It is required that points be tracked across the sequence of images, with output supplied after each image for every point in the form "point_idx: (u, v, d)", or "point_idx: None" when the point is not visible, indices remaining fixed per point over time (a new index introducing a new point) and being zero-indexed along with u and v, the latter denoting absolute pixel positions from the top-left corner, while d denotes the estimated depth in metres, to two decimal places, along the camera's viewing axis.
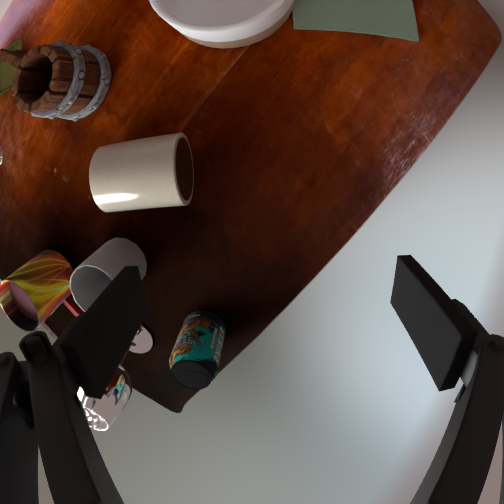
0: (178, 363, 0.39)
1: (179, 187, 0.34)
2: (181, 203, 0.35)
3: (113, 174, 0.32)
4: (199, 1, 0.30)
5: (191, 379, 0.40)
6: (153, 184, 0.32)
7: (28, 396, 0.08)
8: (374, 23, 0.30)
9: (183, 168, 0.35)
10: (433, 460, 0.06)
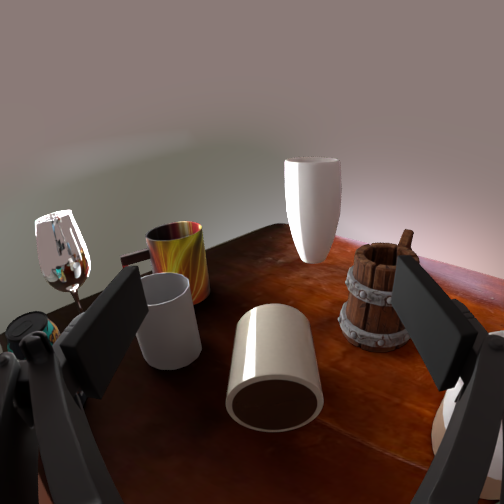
0: (45, 320, 0.27)
1: (253, 384, 0.25)
2: (231, 389, 0.25)
3: (281, 322, 0.31)
4: None
5: (21, 324, 0.26)
6: (263, 355, 0.26)
7: (28, 396, 0.08)
8: None
9: (275, 403, 0.25)
10: (433, 460, 0.06)
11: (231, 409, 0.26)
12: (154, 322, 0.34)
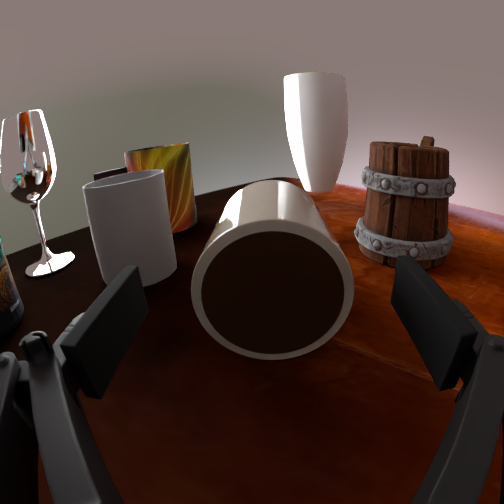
0: None
1: (238, 242, 0.15)
2: (200, 257, 0.16)
3: (283, 189, 0.22)
4: None
5: None
6: (256, 207, 0.17)
7: (28, 396, 0.08)
8: None
9: (274, 289, 0.16)
10: (433, 460, 0.06)
11: (200, 303, 0.17)
12: (112, 211, 0.25)
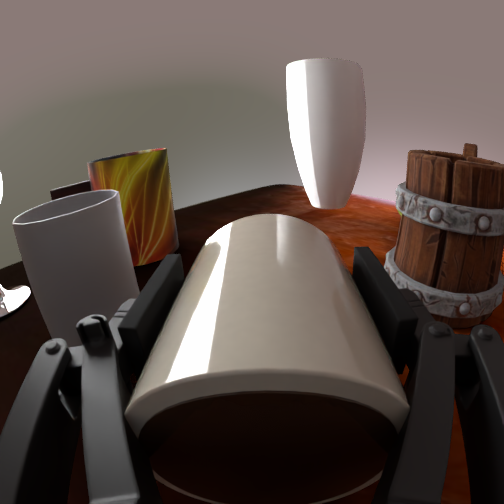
0: None
1: (191, 404, 0.06)
2: (125, 410, 0.07)
3: (288, 238, 0.13)
4: None
5: None
6: (235, 306, 0.08)
7: (80, 382, 0.09)
8: None
9: (271, 461, 0.07)
10: (389, 452, 0.07)
11: None
12: (44, 257, 0.16)
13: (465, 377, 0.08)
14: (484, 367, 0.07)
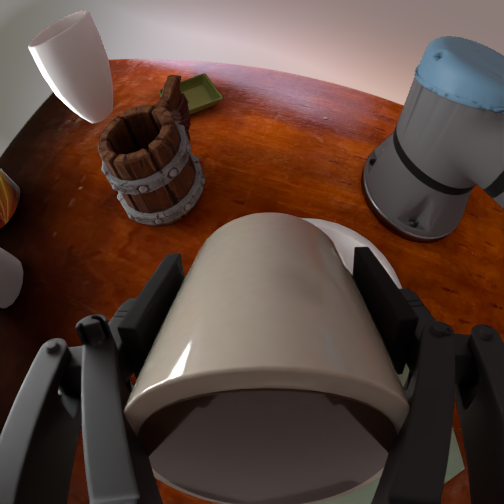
0: None
1: (190, 402, 0.06)
2: (125, 408, 0.07)
3: (287, 237, 0.13)
4: None
5: None
6: (234, 304, 0.08)
7: (80, 382, 0.09)
8: None
9: (270, 460, 0.07)
10: (389, 452, 0.07)
11: None
12: None
13: (465, 377, 0.08)
14: (484, 367, 0.07)
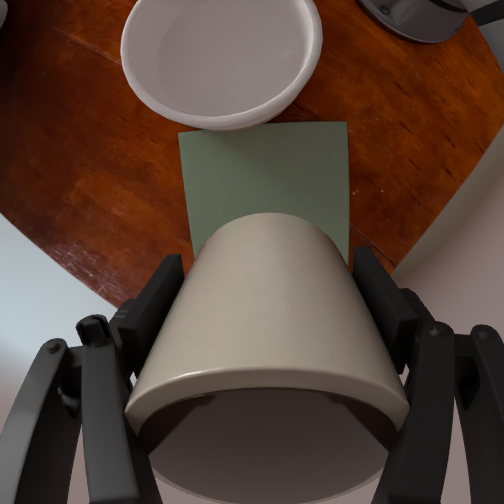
0: None
1: (191, 401, 0.06)
2: (125, 407, 0.07)
3: (288, 237, 0.13)
4: (219, 23, 0.26)
5: None
6: (235, 303, 0.08)
7: (80, 382, 0.09)
8: (204, 230, 0.35)
9: (270, 459, 0.07)
10: (389, 452, 0.07)
11: None
12: None
13: (465, 377, 0.08)
14: (484, 367, 0.07)
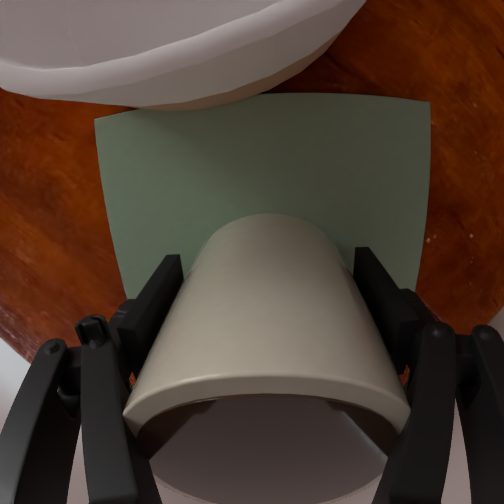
0: None
1: (189, 407, 0.06)
2: (123, 412, 0.07)
3: (288, 238, 0.12)
4: None
5: None
6: (234, 306, 0.08)
7: (79, 383, 0.09)
8: None
9: (270, 464, 0.07)
10: None
11: None
12: None
13: (466, 377, 0.08)
14: (485, 367, 0.07)
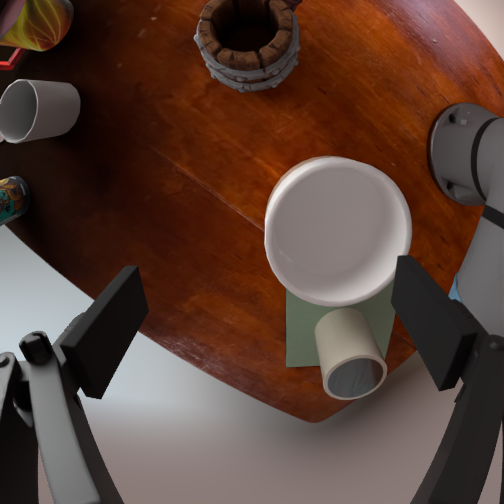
0: None
1: (347, 362, 0.36)
2: (330, 367, 0.37)
3: (355, 321, 0.42)
4: (325, 190, 0.39)
5: None
6: (351, 343, 0.38)
7: (28, 396, 0.08)
8: (296, 336, 0.48)
9: (357, 376, 0.37)
10: (433, 460, 0.06)
11: (326, 383, 0.38)
12: (32, 138, 0.30)
13: None
14: None
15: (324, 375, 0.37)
